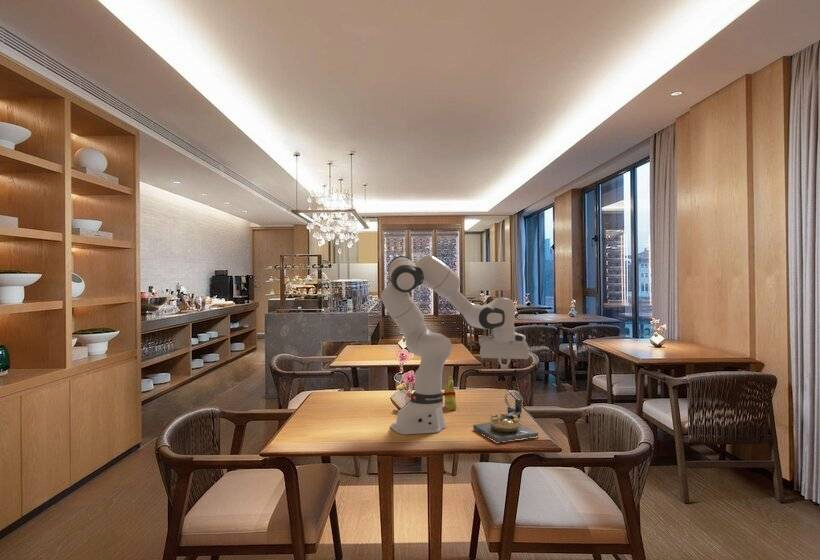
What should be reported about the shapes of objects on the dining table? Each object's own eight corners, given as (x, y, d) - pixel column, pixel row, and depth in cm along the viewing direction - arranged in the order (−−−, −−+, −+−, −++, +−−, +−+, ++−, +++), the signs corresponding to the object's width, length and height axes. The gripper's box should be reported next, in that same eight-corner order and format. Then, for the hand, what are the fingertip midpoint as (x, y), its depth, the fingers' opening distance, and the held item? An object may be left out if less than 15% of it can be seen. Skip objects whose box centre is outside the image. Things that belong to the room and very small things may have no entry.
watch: (524, 417, 209) (524, 392, 209) (506, 417, 208) (506, 392, 208) (521, 413, 214) (521, 389, 214) (503, 413, 214) (503, 389, 214)
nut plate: (497, 443, 174) (497, 437, 174) (473, 429, 191) (473, 424, 191) (538, 437, 181) (538, 431, 181) (511, 424, 198) (511, 419, 198)
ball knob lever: (511, 434, 178) (511, 411, 178) (485, 428, 185) (485, 406, 185) (532, 422, 193) (532, 400, 193) (507, 417, 200) (507, 396, 200)
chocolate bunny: (452, 404, 230) (452, 373, 230) (458, 410, 219) (458, 378, 219) (438, 405, 229) (438, 374, 229) (443, 411, 218) (443, 378, 218)
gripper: (478, 336, 197) (478, 369, 197) (529, 337, 193) (529, 371, 193) (479, 334, 203) (479, 366, 203) (528, 335, 199) (528, 368, 199)
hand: (504, 369), depth 198 cm, fingers closed
